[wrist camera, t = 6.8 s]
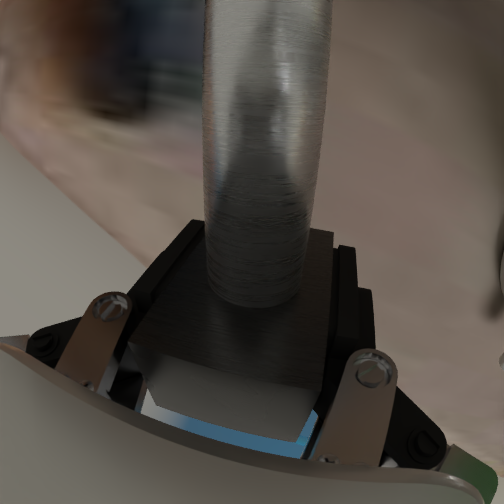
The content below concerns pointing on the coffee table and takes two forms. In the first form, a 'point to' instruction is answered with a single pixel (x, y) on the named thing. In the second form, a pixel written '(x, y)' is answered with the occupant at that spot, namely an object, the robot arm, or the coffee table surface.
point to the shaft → (251, 231)
